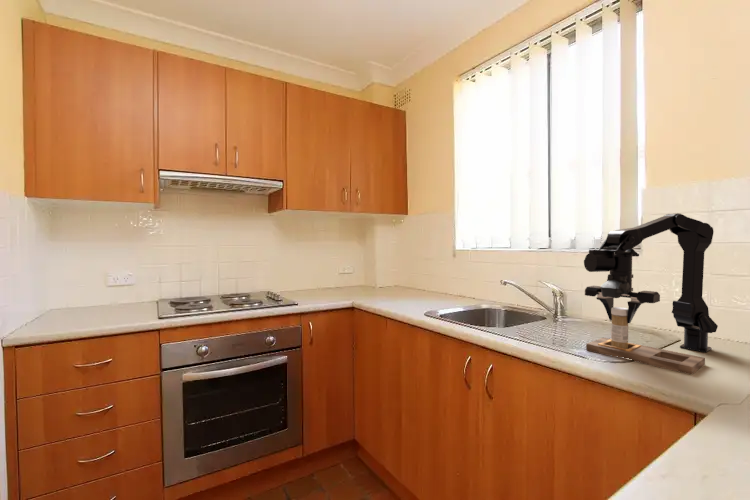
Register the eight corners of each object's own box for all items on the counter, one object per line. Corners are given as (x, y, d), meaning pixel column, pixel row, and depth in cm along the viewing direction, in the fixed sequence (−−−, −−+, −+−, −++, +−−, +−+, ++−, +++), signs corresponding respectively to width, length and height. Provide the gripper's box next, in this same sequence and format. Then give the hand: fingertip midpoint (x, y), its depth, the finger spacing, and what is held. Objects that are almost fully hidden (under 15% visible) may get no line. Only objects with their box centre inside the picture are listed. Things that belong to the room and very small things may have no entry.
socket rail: (603, 343, 124) (603, 336, 124) (704, 364, 103) (705, 356, 103) (586, 350, 117) (586, 342, 117) (691, 374, 96) (691, 365, 96)
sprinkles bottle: (621, 348, 117) (621, 306, 117) (631, 353, 113) (632, 309, 112) (607, 349, 117) (607, 306, 116) (617, 353, 112) (618, 309, 112)
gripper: (576, 270, 117) (576, 320, 117) (646, 275, 102) (645, 332, 102) (593, 268, 123) (592, 315, 124) (661, 272, 108) (660, 326, 109)
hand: (619, 321), depth 115 cm, fingers open, 4 cm apart
